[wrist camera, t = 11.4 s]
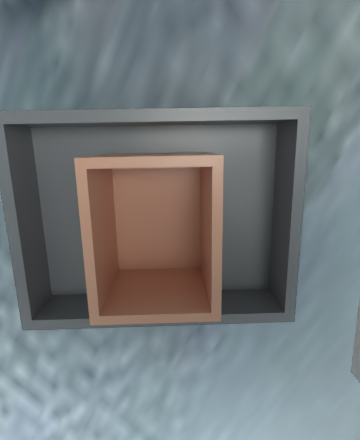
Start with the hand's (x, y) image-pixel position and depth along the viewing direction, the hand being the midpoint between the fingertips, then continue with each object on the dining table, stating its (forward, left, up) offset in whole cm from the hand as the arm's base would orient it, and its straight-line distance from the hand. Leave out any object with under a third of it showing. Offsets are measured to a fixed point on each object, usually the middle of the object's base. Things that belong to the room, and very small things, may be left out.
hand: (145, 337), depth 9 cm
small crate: (0, 0, -17) cm, 17 cm away
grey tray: (0, 0, -18) cm, 18 cm away
